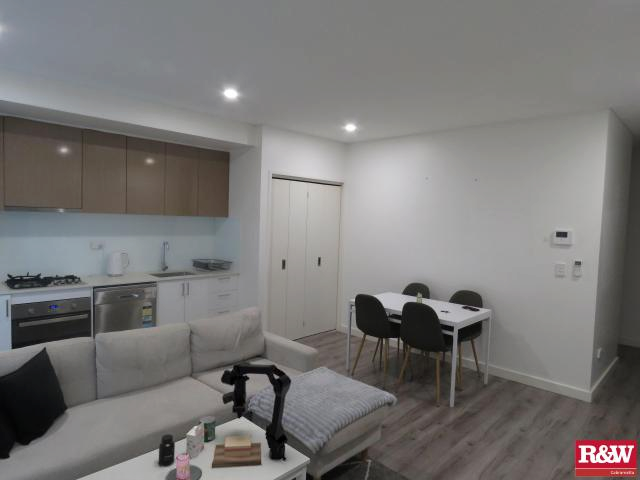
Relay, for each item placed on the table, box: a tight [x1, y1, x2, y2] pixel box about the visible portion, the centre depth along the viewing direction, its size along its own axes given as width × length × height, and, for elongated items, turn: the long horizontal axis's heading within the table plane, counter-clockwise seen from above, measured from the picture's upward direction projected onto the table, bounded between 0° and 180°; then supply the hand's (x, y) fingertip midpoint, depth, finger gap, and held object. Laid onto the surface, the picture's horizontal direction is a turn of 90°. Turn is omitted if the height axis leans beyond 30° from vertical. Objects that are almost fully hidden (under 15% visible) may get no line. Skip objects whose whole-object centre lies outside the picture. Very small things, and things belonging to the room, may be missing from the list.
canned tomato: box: [198, 415, 216, 443], centre depth 207 cm, size 8×8×11 cm
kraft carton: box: [224, 435, 252, 457], centre depth 196 cm, size 9×12×5 cm
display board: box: [211, 442, 262, 469], centre depth 194 cm, size 19×22×3 cm
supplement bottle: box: [158, 434, 176, 467], centre depth 187 cm, size 7×7×12 cm
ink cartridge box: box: [186, 421, 205, 459], centre depth 194 cm, size 9×5×15 cm, turn 168°
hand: (239, 418), depth 204 cm, fingers closed
